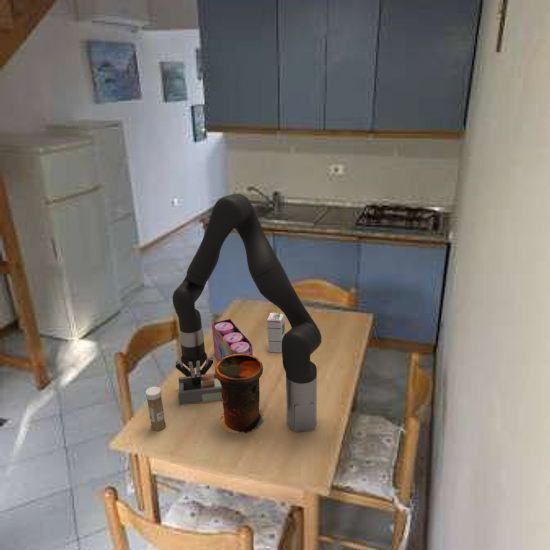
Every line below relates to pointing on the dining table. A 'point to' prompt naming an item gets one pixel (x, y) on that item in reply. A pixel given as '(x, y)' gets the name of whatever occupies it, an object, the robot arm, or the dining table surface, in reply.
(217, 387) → the channel
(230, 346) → the gum box
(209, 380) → the block
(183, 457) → the dining table surface
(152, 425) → the sprinkles bottle
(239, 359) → the vessel
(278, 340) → the syrup box
